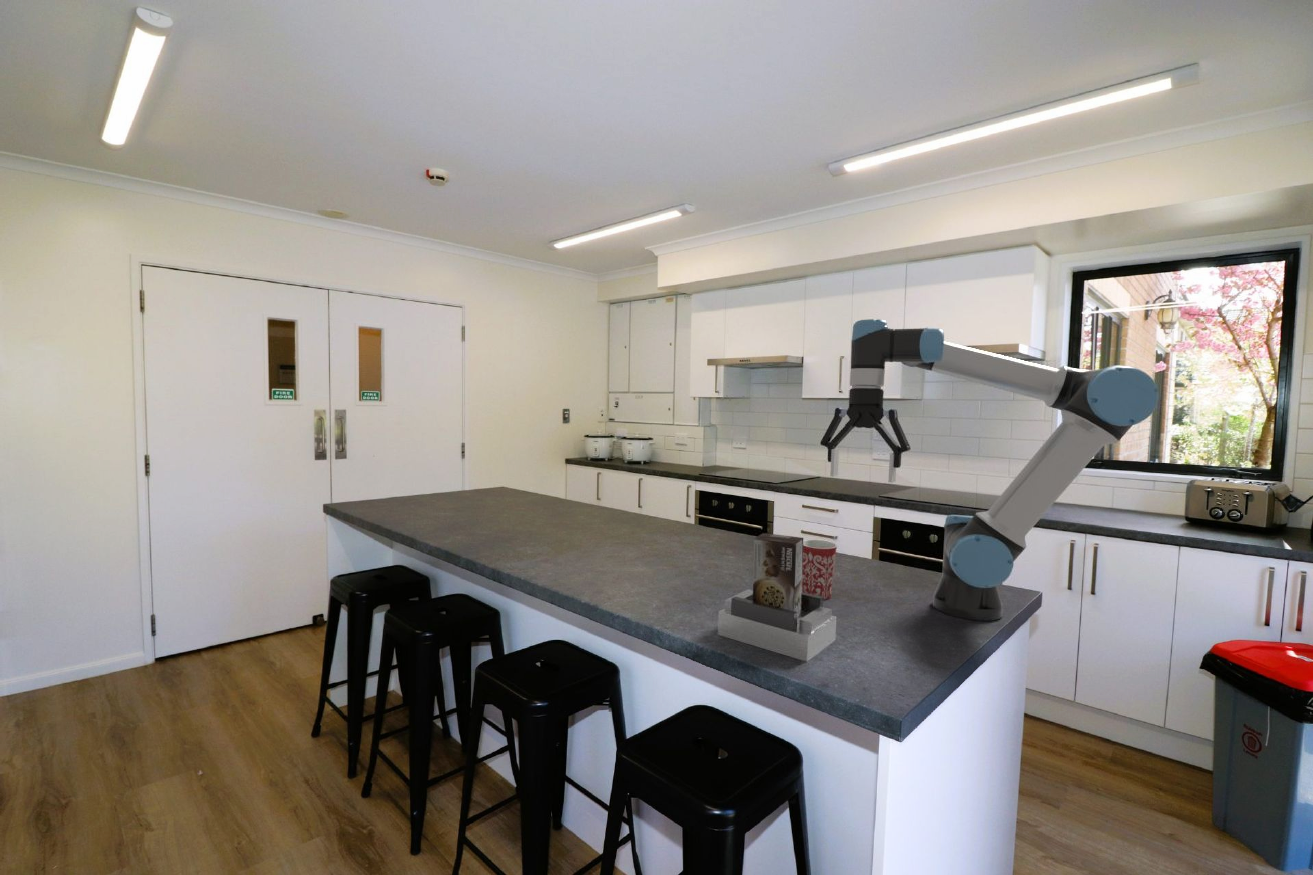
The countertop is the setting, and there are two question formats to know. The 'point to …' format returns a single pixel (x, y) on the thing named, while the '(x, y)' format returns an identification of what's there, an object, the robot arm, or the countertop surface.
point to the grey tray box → (779, 625)
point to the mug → (818, 567)
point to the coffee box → (778, 571)
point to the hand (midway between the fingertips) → (862, 479)
